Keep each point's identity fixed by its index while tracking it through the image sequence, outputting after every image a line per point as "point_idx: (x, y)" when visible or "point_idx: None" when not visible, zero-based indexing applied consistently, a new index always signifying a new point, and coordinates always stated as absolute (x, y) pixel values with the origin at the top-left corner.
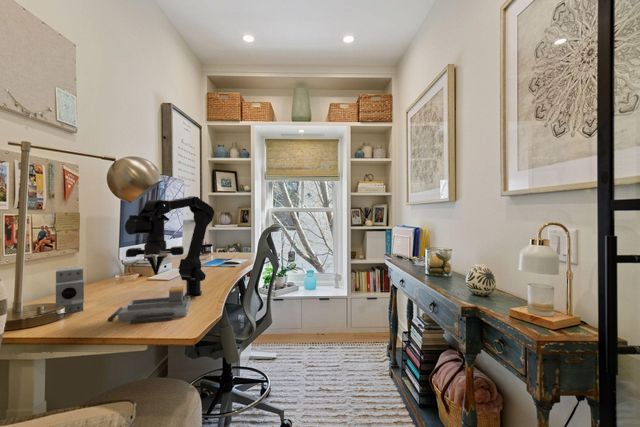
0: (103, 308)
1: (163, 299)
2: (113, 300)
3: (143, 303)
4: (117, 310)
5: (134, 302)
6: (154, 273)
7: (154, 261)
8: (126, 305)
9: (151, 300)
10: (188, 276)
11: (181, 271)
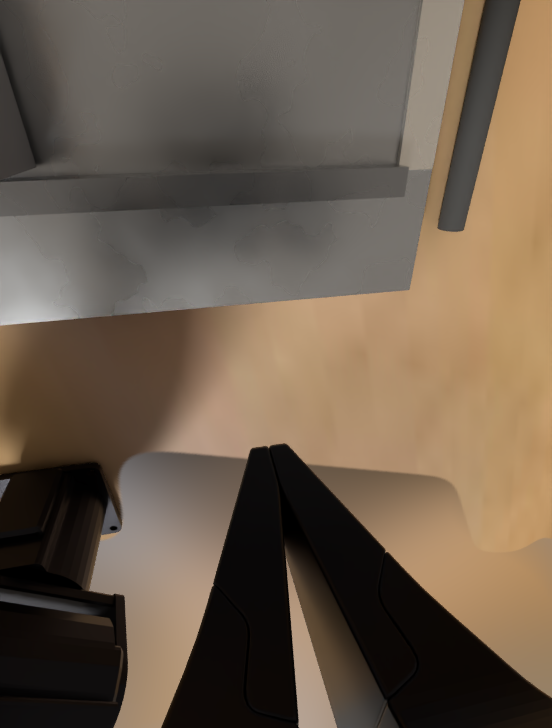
0: (531, 305)
1: (123, 174)
2: (479, 440)
3: (304, 128)
4: (481, 134)
5: (387, 164)
6: (291, 451)
7: (370, 724)
8: (447, 66)
9: (242, 169)
10: (12, 607)
11: (84, 663)
